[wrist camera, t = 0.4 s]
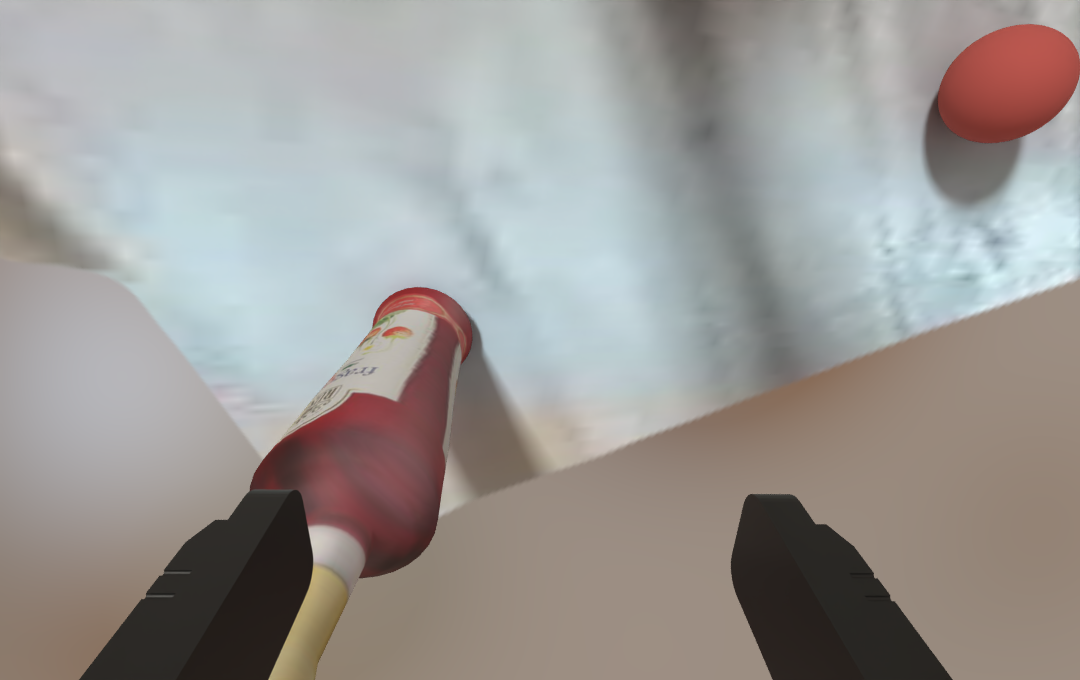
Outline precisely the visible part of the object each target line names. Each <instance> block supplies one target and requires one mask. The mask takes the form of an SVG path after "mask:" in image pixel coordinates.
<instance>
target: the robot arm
mask: <svg viewBox="0 0 1080 680" xmlns="http://www.w3.org/2000/svg"><path fill="white" fill-rule="evenodd" d="M312 572H313V551H312V546H311V540H310V535H309V530H308V524H307V519H306V514H305V508H304V503H303V499H302V495H301V493H300V492H299V491H298V490H267V489H254V490H251V491H249V492H248V493H247V494H246V496H245V497H244V498H243V499H242V501H241V502H240V504H239V505H238V507H237V508H236V509H235V511H234V512H233V514H232V515H231V516H230V518H229V519H228V520H215V521H213V522H212V523H211V524H209V525H208V526H207V527H205V528H204V529H203V530H202V531H200V532H199V533H197V534H196V535H195V536H193V537H192V538H191V539H189V540H188V541H187V542H186V543H185V544H184V545H183V546H182V548H181V549H180V550H179V551H178V553H177V554H176V555H175V557H174V558H173V559H172V560H171V562H170V563H169V564H168V566H167V567H166V568H165V570H164V574H163V576H159V577H158V579H157V580H156V581H155V582H154V584H153V585H152V586H151V588H150V589H149V590H148V591H147V593H146V598H145V599H141V601H140V602H139V603H138V604H137V606H136V607H135V608H134V610H133V611H132V612H131V614H130V615H129V616H128V617H127V619H126V620H125V622H123V624H122V625H121V626H120V628H119V629H118V630H117V632H116V633H115V634H114V636H113V637H112V638H111V639H110V641H109V642H108V643H107V645H106V646H105V647H104V648H103V650H102V651H101V652H100V653H99V655H98V656H97V657H96V659H95V660H94V661H93V663H92V664H91V665H90V666H89V668H88V669H87V670H86V672H85V673H84V674H83V675H82V677H81V678H80V679H79V680H268V679H269V677H270V675H271V673H272V670H273V668H274V666H275V664H276V661H277V659H278V657H279V655H280V653H281V650H282V648H283V646H284V644H285V641H286V639H287V637H288V635H289V632H290V630H291V628H292V626H293V623H294V621H295V619H296V617H297V614H298V612H299V610H300V608H301V605H302V603H303V601H304V599H305V596H306V594H307V592H308V589H309V586H310V582H311V578H312ZM731 574H732V581H733V585H734V589H735V592H736V595H737V597H738V600H739V602H740V604H741V607H742V609H743V611H744V614H745V616H746V618H747V620H748V623H749V625H750V628H751V630H752V632H753V634H754V637H755V639H756V641H757V644H758V646H759V649H760V651H761V653H762V656H763V658H764V660H765V662H766V665H767V667H768V670H769V672H770V674H771V677H772V679H773V680H952V678H951V677H950V676H949V674H948V673H947V671H946V670H945V669H944V667H943V666H942V665H941V663H940V662H939V661H938V659H937V658H936V657H935V655H934V654H933V653H932V651H931V650H930V649H929V647H928V646H927V644H926V643H925V642H924V640H923V639H922V638H921V637H920V635H919V634H918V632H917V631H916V630H915V629H914V627H913V626H912V624H911V623H910V622H909V620H908V619H907V617H906V616H905V615H904V613H903V612H902V611H901V609H900V608H899V607H898V605H897V604H896V603H895V602H894V601H891V599H890V595H889V593H888V592H887V590H886V589H885V588H884V586H883V585H882V584H881V582H880V581H879V580H878V579H875V578H874V573H873V572H872V570H871V569H870V567H869V566H868V565H867V564H866V562H865V561H864V559H863V558H862V557H861V555H860V554H859V553H858V551H857V550H856V549H855V547H854V546H853V545H851V544H850V543H849V542H848V541H846V540H845V539H844V538H842V537H841V536H840V535H839V534H838V533H836V532H835V531H834V530H832V529H831V528H830V527H829V526H827V525H824V524H821V525H820V524H819V525H818V524H817V525H816V524H815V523H814V522H813V520H812V519H811V517H810V516H809V514H808V513H807V511H806V510H805V508H804V507H803V506H802V504H801V503H800V501H799V500H798V499H797V498H796V497H795V496H793V495H790V494H787V495H786V494H785V495H784V494H781V495H780V494H750V495H748V496H747V498H746V499H745V502H744V505H743V510H742V514H741V518H740V522H739V527H738V531H737V535H736V540H735V544H734V548H733V553H732V558H731Z"/></svg>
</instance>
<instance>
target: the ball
mask: <svg viewBox="0 0 1080 680" xmlns="http://www.w3.org/2000/svg"><path fill="white" fill-rule="evenodd" d="M1079 75H1080V59H1079V55H1078V52H1077V50H1076V48H1075V46H1074V45H1073V43H1072V42H1071V41H1070V39H1069V38H1068V37H1066V36H1065V35H1064V34H1062V33H1061V32H1059V31H1057V30H1055V29H1053V28H1050V27H1046V26H1042V25H1033V24H1027V25H1015V26H1010V27H1006V28H1003V29H1000V30H997V31H994V32H992V33H990V34H988V35H986V36H984V37H982V38H980V39H979V40H977V41H976V42H974V43H972V44H971V45H970V46H969V47H967V48H966V49H965V50H964V51H963V52H962V53H961V54H960V55H959V56H958V57H957V58H956V59H955V60H954V61H953V62H952V64H951V65H950V67H949V68H948V70H947V72H946V73H945V75H944V77H943V79H942V82H941V85H940V88H939V93H938V107H939V112H940V115H941V117H942V119H943V121H944V123H945V124H946V125H947V127H948V128H949V129H950V130H951V131H952V132H954V133H955V134H957V135H958V136H960V137H962V138H965V139H967V140H970V141H974V142H979V143H999V142H1005V141H1010V140H1013V139H1016V138H1020V137H1023V136H1025V135H1027V134H1029V133H1031V132H1033V131H1035V130H1037V129H1039V128H1040V127H1042V126H1043V125H1045V124H1046V123H1048V122H1049V121H1050V120H1051V119H1053V118H1054V117H1055V116H1056V115H1057V114H1058V113H1059V112H1060V111H1061V110H1062V109H1063V107H1064V106H1065V105H1066V104H1067V102H1068V101H1069V99H1070V98H1071V96H1072V94H1073V93H1074V91H1075V88H1076V86H1077V83H1078V80H1079Z"/></svg>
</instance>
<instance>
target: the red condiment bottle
mask: <svg viewBox="0 0 1080 680" xmlns="http://www.w3.org/2000/svg"><path fill="white" fill-rule="evenodd" d="M471 344H472V328H471V324H470V321H469V319H468V317H467V314H466V313H465V312H464V310H463V309H462V307H461V306H460V305H459V304H458V303H457V302H456V301H455V300H454V299H452V298H451V297H449V296H448V295H446V294H444V293H442V292H439V291H437V290H434V289H429V288H421V287H414V288H407V289H404V290H401V291H398V292H396V293H394V294H393V295H391V296H389V297H388V298H387V299H386V300H385V301H384V302H383V303H382V304H381V305H380V307H379V308H378V310H377V312H376V314H375V317H374V320H373V327H372V329H371V331H370V332H369V333H368V335H367V336H366V337H365V339H364V340H363V341H362V342H361V344H360V345H359V346H358V347H357V349H356V350H355V351H354V352H353V353H352V355H351V356H350V357H349V358H348V360H347V361H346V362H345V363H344V364H343V365H342V367H341V368H340V369H339V370H338V371H337V372H336V373H335V374H334V376H333V377H332V378H331V379H330V380H329V381H328V382H327V383H326V385H325V386H324V387H323V388H322V389H321V390H320V391H319V392H318V394H317V395H316V396H315V397H314V398H313V399H312V401H311V402H310V403H309V404H308V406H307V407H306V408H305V409H304V411H303V412H302V413H301V414H300V416H299V417H298V418H297V419H296V421H295V422H294V423H293V424H292V426H291V427H290V428H289V429H288V431H287V432H286V433H285V434H284V436H283V437H282V438H281V439H280V440H279V442H278V443H277V444H276V445H275V446H274V447H273V449H272V450H271V451H270V452H269V453H268V455H267V456H266V457H265V458H264V459H263V461H262V462H261V464H260V465H259V467H258V468H257V470H256V472H255V473H254V476H253V479H252V482H251V485H250V491H251V490H254V489H267V490H298V491H299V492H300V493H301V495H302V499H303V503H304V508H305V514H306V519H307V524H308V530H309V535H310V540H311V546H312V551H313V572H312V578H311V582H310V586H309V589H308V592H307V594H306V596H305V599H304V601H303V603H302V605H301V608H300V610H299V612H298V614H297V617H296V619H295V621H294V623H293V626H292V628H291V630H290V632H289V635H288V637H287V639H286V641H285V644H284V646H283V648H282V650H281V653H280V655H279V657H278V659H277V661H276V664H275V666H274V668H273V670H272V673H271V675H270V677H269V679H268V680H315V675H316V669H317V664H318V662H319V660H320V658H321V656H322V654H323V651H324V649H325V647H326V645H327V643H328V641H329V639H330V637H331V635H332V632H333V631H334V629H335V626H336V624H337V622H338V620H339V618H340V616H341V614H342V612H343V610H344V608H345V605H346V603H347V601H348V599H349V597H350V595H351V593H352V591H353V589H354V587H355V584H356V583H357V581H358V578H367V577H375V576H380V575H384V574H387V573H391V572H394V571H396V570H398V569H400V568H402V567H404V566H406V565H408V564H409V563H411V562H412V561H413V560H415V559H416V558H417V557H419V556H420V555H421V553H422V552H423V551H424V550H425V549H426V548H427V547H428V545H429V543H430V541H431V540H432V537H433V536H434V534H435V530H436V526H437V521H438V515H439V508H440V501H441V494H442V487H443V481H444V475H445V469H446V462H447V456H448V450H449V443H450V434H451V425H452V416H453V407H454V400H455V394H456V387H457V381H458V375H459V369H460V365H461V364H462V363H463V361H464V360H465V359H466V357H467V355H468V353H469V351H470V349H471Z"/></svg>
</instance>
